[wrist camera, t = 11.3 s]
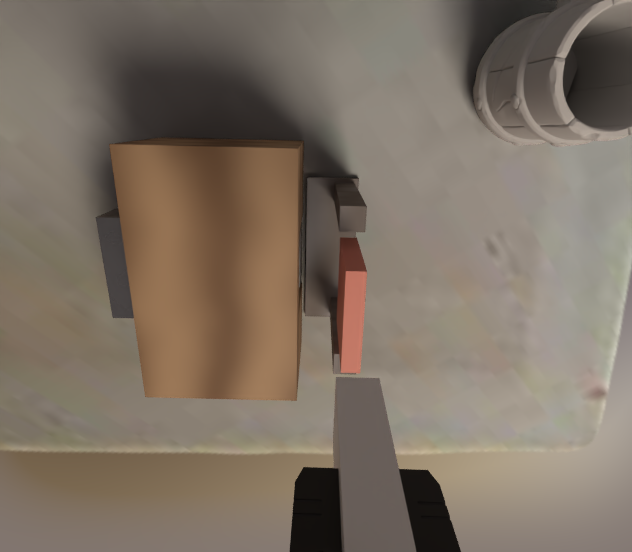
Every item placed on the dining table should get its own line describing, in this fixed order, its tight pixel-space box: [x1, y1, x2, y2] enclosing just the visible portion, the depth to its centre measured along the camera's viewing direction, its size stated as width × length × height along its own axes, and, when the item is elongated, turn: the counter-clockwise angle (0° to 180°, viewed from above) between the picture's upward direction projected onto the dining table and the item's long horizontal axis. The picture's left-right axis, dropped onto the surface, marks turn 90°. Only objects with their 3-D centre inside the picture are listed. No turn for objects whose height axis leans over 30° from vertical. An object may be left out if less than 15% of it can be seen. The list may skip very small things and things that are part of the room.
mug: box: [473, 0, 632, 147], centre depth 22 cm, size 8×12×12 cm, turn 175°
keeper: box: [337, 237, 367, 373], centre depth 24 cm, size 1×6×6 cm, turn 179°
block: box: [109, 137, 367, 401], centre depth 28 cm, size 14×16×9 cm
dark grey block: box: [96, 208, 302, 318], centre depth 30 cm, size 12×7×6 cm, turn 89°
